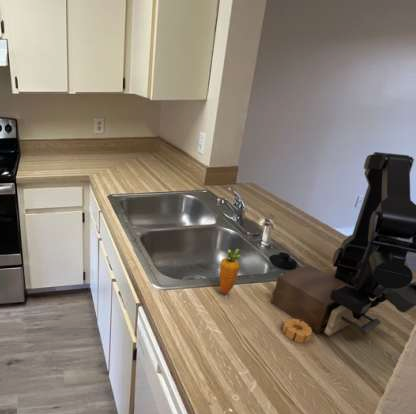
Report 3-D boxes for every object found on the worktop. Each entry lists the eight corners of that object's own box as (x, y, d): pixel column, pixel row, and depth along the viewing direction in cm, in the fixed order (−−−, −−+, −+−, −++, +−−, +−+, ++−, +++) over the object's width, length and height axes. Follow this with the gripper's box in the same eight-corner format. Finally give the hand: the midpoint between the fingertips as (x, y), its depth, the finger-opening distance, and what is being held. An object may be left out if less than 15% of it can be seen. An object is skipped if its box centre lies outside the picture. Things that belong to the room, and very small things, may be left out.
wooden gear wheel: (292, 322, 84) (294, 315, 84) (314, 337, 80) (317, 330, 79) (277, 329, 82) (279, 323, 81) (299, 345, 78) (302, 338, 77)
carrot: (229, 288, 97) (238, 244, 91) (236, 299, 93) (246, 253, 87) (212, 288, 97) (220, 244, 91) (219, 300, 93) (227, 254, 86)
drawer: (380, 333, 80) (390, 311, 77) (352, 351, 75) (362, 328, 72) (311, 293, 93) (318, 273, 90) (284, 306, 88) (290, 285, 86)
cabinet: (347, 316, 86) (358, 289, 83) (317, 333, 81) (327, 305, 77) (300, 289, 97) (308, 263, 93) (271, 302, 91) (278, 276, 88)
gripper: (402, 297, 61) (374, 358, 68) (447, 270, 69) (418, 327, 75) (339, 266, 71) (319, 323, 77) (385, 246, 78) (364, 298, 85)
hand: (356, 318), depth 78 cm, fingers closed
